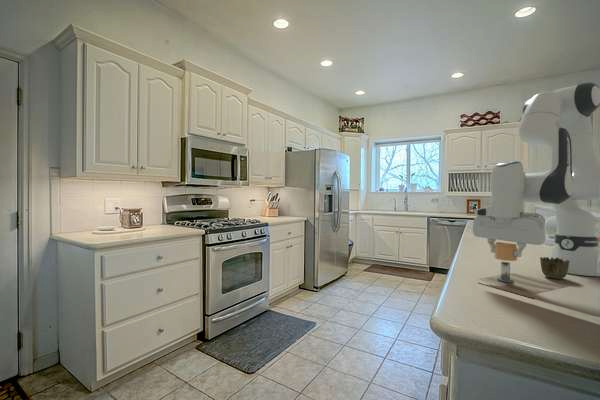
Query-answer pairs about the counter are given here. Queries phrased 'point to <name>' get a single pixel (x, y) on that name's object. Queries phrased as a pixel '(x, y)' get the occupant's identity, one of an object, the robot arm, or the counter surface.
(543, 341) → the counter surface
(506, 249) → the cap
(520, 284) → the board
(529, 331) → the counter surface
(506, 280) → the stud
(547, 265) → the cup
